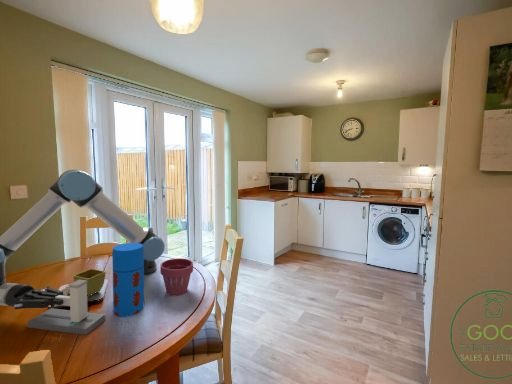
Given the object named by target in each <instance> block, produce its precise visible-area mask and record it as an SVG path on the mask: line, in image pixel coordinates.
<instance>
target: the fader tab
mask: <svg viewBox="0 0 512 384" xmlns="http://www.w3.org/2000/svg"><path fill="white" fill-rule="evenodd" d="M68 288H69V296H70V306H69V307H70V309H69V310H70V313H71V321H72V322H80V321H81V320H83V319H84V318H85V317H87V316H88V313H89V312H88V296H87V280H77V281H75V282H74V281H73V282H72V283H70V284H68Z"/></svg>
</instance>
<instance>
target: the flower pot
mask: <svg viewBox="0 0 512 384" xmlns="http://www.w3.org/2000/svg"><path fill="white" fill-rule="evenodd" d="M106 273H107V272H106V271H104V270H101V269H97V268H96V269H95V268H89V269H86V270H83V271H81V272H78V273H76V274H73V282H75V281H77V280H87V295H88V296H87V297H90V296H89V295H91V294H93V293H95V292H98V291H99V292H100V291H101V290H102V288H103V286H104V284H105V280H106V279H105V278H106ZM99 292H98V293H99ZM91 296H92V295H91Z"/></svg>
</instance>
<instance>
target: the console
mask: <svg viewBox="0 0 512 384" xmlns="http://www.w3.org/2000/svg"><path fill="white" fill-rule="evenodd" d="M104 321H106V314H104V313H95V312H88V316H87V317H85V318H84V319H83V320H81V321H80V322H72V321H71V313H70V309H69V310H68V309H59V308H54V307H52V308H51V307H50V308H49V309H47V310H45V311H44V312H42V313H40V314H39V315H37V316H34V318H31V319H30V320H28V321H27V323H26V325H27V328H30V329H36V330H37V329H38V330H47V331H53V332H61V333H68V334H69V333H70V334H77V335H84V336H86V335H88V334H89V333H90V332H91V331H93V330H94V329H95V328H97V327H98V326H99V325H100V324H101V323H103V322H104Z"/></svg>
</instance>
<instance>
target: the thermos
mask: <svg viewBox="0 0 512 384" xmlns="http://www.w3.org/2000/svg"><path fill="white" fill-rule="evenodd" d="M111 253H112V258H111V259H112V299H113V300H112V303H113V304H112V305H113V315H115V316H117V317H120V318H121V317H122V318H123V317H124V318H126V317H131V316H135V315H137V314H139V313H140V312H142V311H143V309H144V303H145V275H144V249H143V245H142V244H140V243H128V242H125V243H121V244H120V243H119V244H117V245H115V246H113V247H112V252H111Z"/></svg>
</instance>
